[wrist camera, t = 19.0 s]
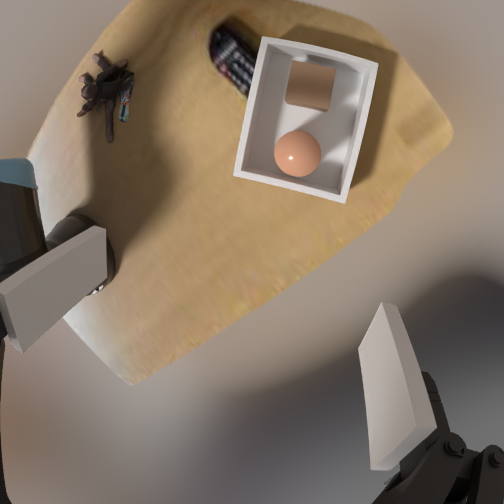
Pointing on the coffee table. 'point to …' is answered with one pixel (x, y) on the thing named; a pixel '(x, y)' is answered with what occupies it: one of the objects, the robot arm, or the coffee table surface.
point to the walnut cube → (310, 86)
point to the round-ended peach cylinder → (297, 153)
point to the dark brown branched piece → (108, 91)
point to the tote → (305, 118)
